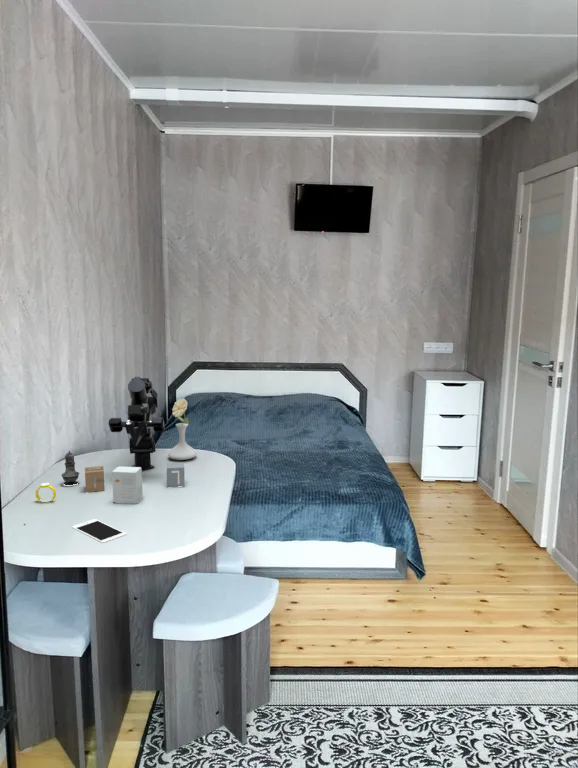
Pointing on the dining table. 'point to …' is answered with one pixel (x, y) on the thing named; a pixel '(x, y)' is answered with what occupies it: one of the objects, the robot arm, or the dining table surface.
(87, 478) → the brown cardboard box
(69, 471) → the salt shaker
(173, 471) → the slate block
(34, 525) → the dining table surface
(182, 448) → the flower in vase
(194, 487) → the dining table surface
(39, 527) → the dining table surface
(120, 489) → the small box
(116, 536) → the cell phone
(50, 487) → the watch
